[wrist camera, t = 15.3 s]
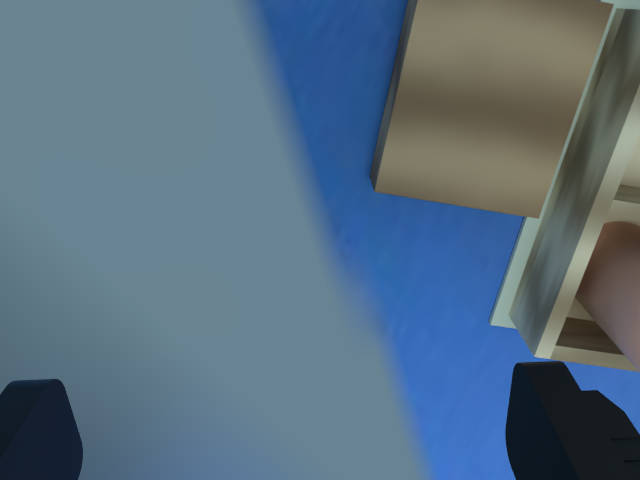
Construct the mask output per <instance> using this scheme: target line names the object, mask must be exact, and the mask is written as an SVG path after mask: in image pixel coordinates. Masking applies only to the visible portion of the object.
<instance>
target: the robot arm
mask: <svg viewBox="0 0 640 480" xmlns="http://www.w3.org/2000/svg"><path fill="white" fill-rule="evenodd" d="M505 434H506V447H507V453H508V458H509V461H510V465H511V468H512V470H513V473H514V476H515V478H516V480H640V435H639V433H638V432H637V430H636V429H635V427H634V426H633V424H632V423H631V421H630V420H629V418H628V417H627V415H626V414H625V412H624V411H623V410H621V409H620V408H619V407H618V406H616V405H615V404H614V403H613V402H611V401H610V400H609V399H608V398H606V397H605V396H604V395H603V394H601V393H600V392H599V391H598V390H591V391H581V390H580V388H579V386H578V385H577V383H576V381H575V380H574V378H573V376H572V375H571V373H570V371H569V370H568V368H567V366H566V365H565V364H564V363H563V362H561V361H550V362H524V363H517V364H516V365H515V367H514V370H513V375H512V383H511V391H510V398H509V406H508V414H507V421H506V433H505ZM82 459H83V447H82V442H81V438H80V435H79V432H78V428H77V425H76V422H75V419H74V416H73V412H72V409H71V406H70V403H69V400H68V396H67V394H66V390H65V387H64V385H63V384H62V382H61V381H60V380H58V379H46V380H45V379H43V380H19V381H13V382H11V383H9V384H8V385H7V386H6V388H5V389H4V391H3V392H2V393H1V394H0V480H78V478H79V475H80V471H81V467H82Z"/></svg>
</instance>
